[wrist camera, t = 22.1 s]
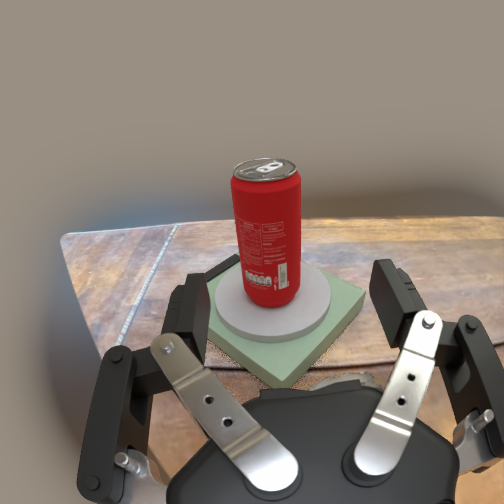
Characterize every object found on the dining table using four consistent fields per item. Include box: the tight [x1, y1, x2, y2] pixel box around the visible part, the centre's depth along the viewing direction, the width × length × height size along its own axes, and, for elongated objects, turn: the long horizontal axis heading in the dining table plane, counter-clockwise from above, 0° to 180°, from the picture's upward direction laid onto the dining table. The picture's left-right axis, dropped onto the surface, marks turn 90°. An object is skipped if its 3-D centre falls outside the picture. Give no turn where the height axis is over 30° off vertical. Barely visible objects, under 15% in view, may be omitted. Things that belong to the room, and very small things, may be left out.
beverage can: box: [231, 158, 301, 308], centre depth 25 cm, size 5×5×12 cm
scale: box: [204, 252, 366, 389], centre depth 30 cm, size 13×15×3 cm
